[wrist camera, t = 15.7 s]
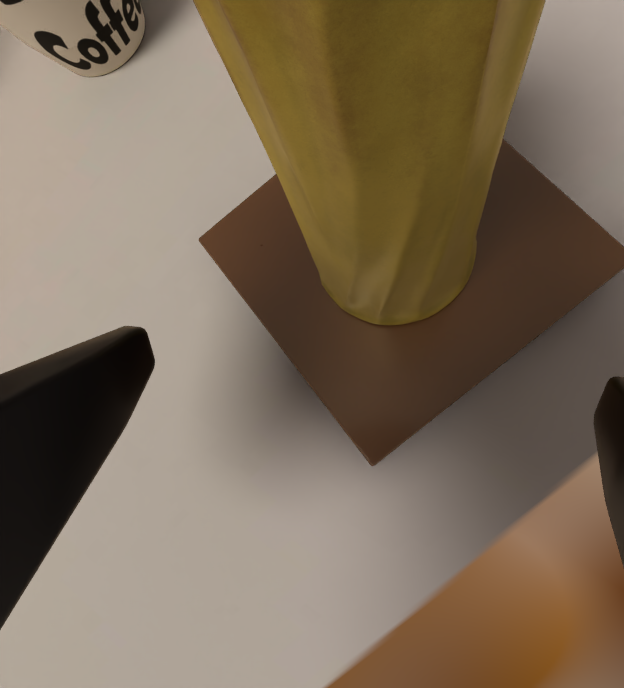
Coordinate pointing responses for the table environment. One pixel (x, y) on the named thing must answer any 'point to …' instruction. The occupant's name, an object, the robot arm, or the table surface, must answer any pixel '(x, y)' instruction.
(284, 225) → the serving board
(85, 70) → the cup
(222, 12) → the vase
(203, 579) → the table surface
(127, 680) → the table surface
